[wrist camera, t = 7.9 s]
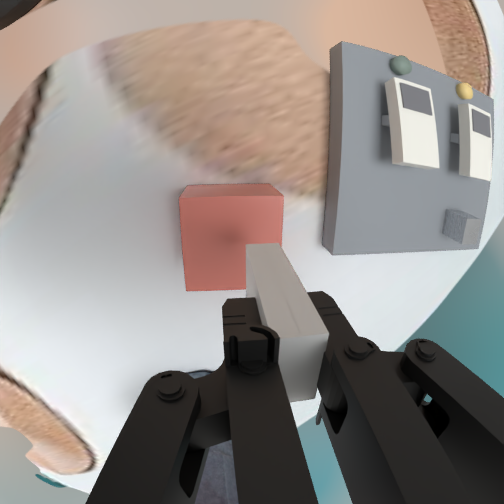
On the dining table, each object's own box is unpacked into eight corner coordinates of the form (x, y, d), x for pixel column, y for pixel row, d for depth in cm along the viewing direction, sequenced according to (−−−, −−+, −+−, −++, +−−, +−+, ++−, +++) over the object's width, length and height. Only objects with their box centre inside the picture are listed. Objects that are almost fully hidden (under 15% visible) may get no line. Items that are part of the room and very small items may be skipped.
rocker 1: (384, 82, 17) (395, 76, 15) (420, 93, 17) (431, 88, 16) (392, 163, 18) (404, 161, 16) (427, 169, 18) (440, 168, 17)
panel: (329, 49, 18) (347, 37, 15) (477, 99, 20) (500, 99, 17) (322, 244, 25) (337, 261, 21) (464, 241, 27) (484, 252, 23)
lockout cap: (187, 185, 21) (178, 198, 17) (269, 183, 22) (283, 195, 17) (191, 261, 24) (186, 291, 19) (267, 258, 24) (279, 287, 20)
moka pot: (131, 376, 28) (101, 539, 10) (264, 350, 28) (310, 539, 10) (166, 421, 32) (160, 556, 14) (280, 401, 32) (317, 546, 14)
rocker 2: (457, 104, 17) (469, 102, 16) (480, 114, 18) (491, 114, 16) (458, 174, 19) (471, 176, 18) (480, 179, 19) (492, 181, 18)
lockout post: (446, 209, 22) (467, 218, 19) (461, 210, 22) (481, 219, 20) (441, 233, 23) (461, 244, 20) (456, 233, 23) (476, 244, 20)
